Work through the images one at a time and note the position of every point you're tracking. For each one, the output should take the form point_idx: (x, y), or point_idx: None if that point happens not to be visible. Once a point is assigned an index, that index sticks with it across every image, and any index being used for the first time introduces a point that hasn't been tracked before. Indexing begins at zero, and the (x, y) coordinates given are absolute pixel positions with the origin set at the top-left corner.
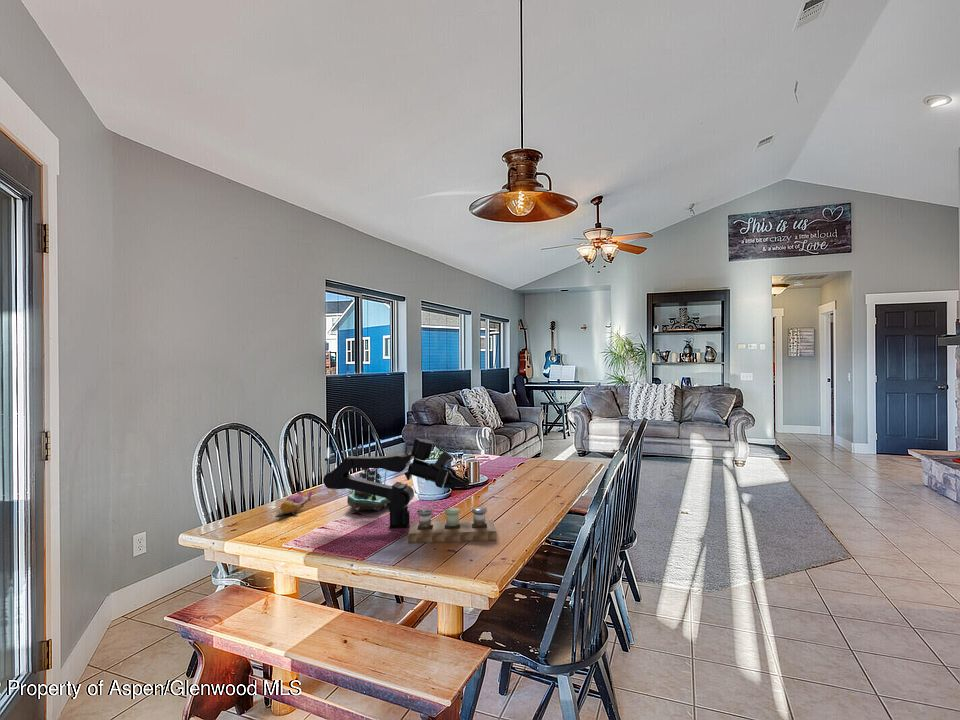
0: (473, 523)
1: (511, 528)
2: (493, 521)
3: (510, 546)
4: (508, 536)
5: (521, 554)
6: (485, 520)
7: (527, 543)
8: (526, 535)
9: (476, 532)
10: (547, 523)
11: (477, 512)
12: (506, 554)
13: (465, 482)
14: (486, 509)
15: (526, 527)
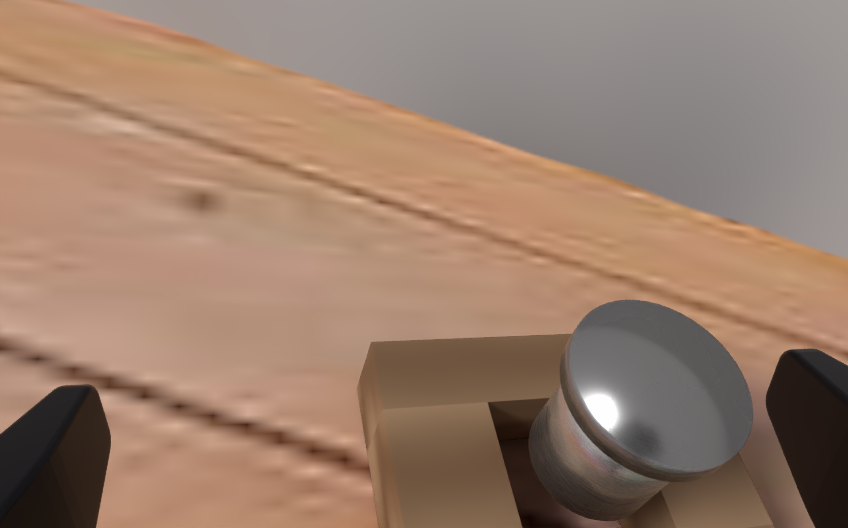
0: (621, 517)
1: (342, 256)
2: (420, 341)
3: (712, 288)
4: (531, 287)
5: (803, 246)
6: (397, 414)
7: (628, 201)
8: (487, 189)
9: (749, 488)
10: (225, 57)
11: (742, 401)
12: (843, 317)
13: (75, 494)
14: (640, 302)
15: (314, 168)
